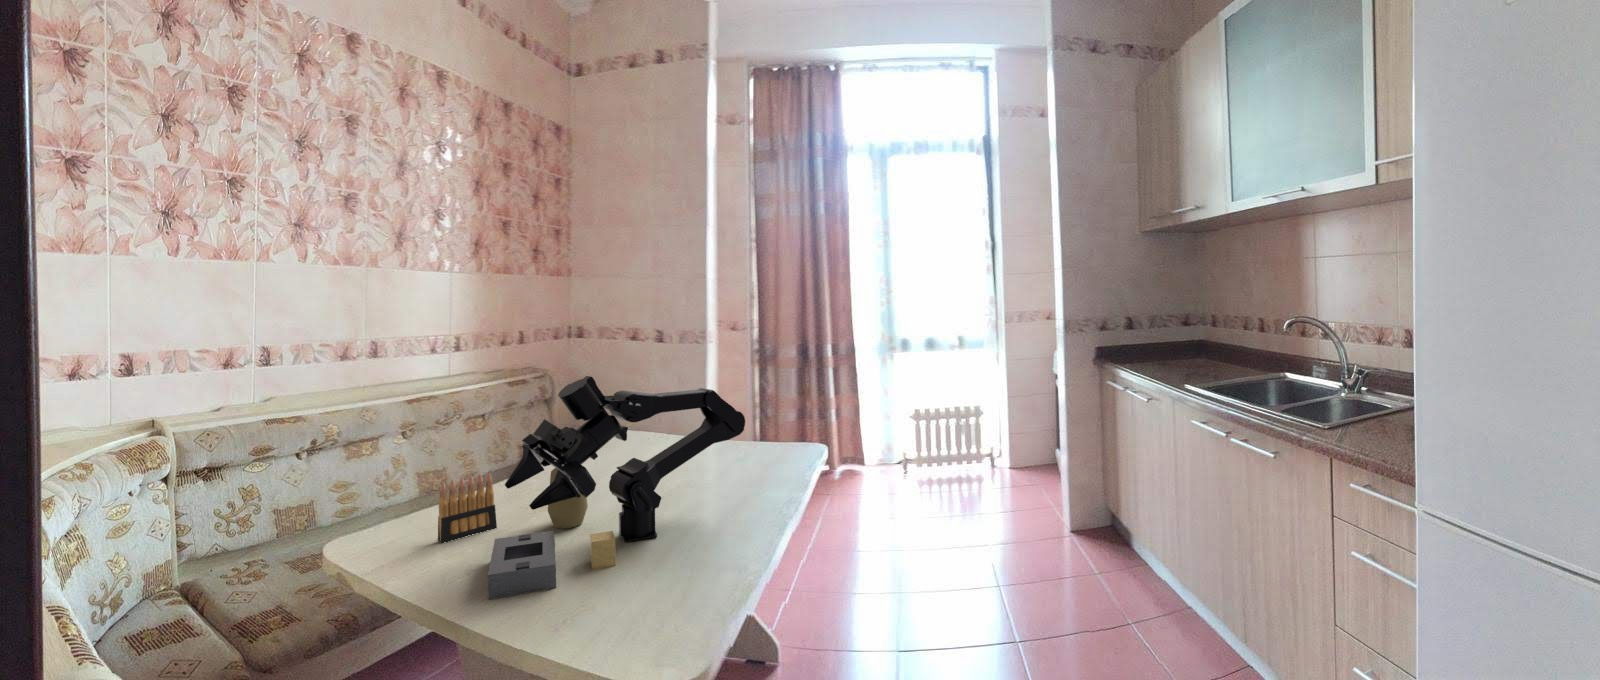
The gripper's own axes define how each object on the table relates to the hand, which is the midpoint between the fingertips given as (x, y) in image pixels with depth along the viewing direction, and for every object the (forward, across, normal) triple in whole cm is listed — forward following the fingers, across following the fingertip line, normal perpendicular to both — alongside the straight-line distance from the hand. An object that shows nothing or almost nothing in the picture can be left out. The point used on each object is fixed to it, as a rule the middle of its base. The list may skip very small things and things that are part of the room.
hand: (518, 496), depth 105 cm
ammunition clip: (+9, -21, +16) cm, 28 cm away
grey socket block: (+7, +5, +10) cm, 13 cm away
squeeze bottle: (-5, -10, +22) cm, 25 cm away
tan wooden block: (-3, +12, +15) cm, 19 cm away
